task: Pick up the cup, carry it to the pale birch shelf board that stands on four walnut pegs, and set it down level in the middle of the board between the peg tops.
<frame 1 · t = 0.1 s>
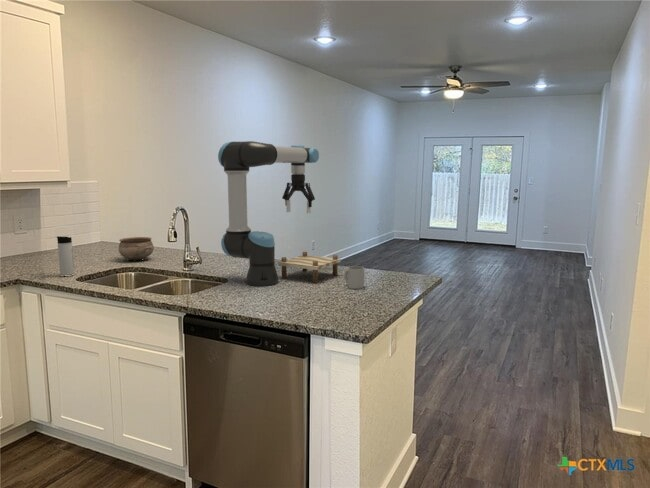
hand: (298, 212, 276), 28 cm above the worktop, fingers open, 13 cm apart
cup: (353, 287, 224), on the worktop
travel mug: (67, 276, 248), on the worktop
cooking pot: (137, 260, 288), on the worktop
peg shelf: (309, 276, 245), on the worktop
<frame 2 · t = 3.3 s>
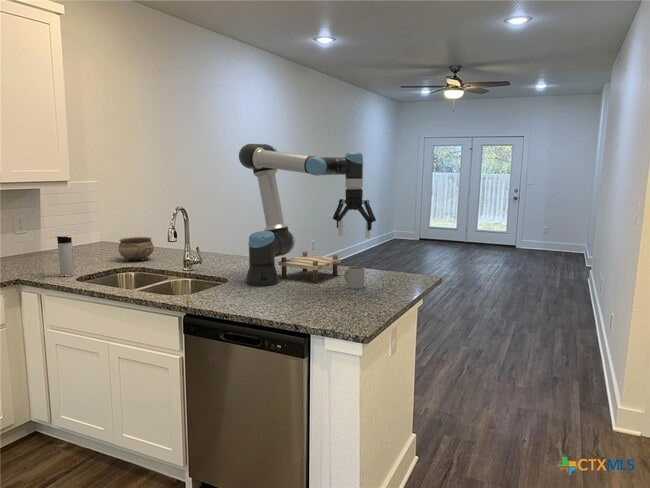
hand: (353, 236, 221), 23 cm above the worktop, fingers open, 13 cm apart
nothing on the worktop moved.
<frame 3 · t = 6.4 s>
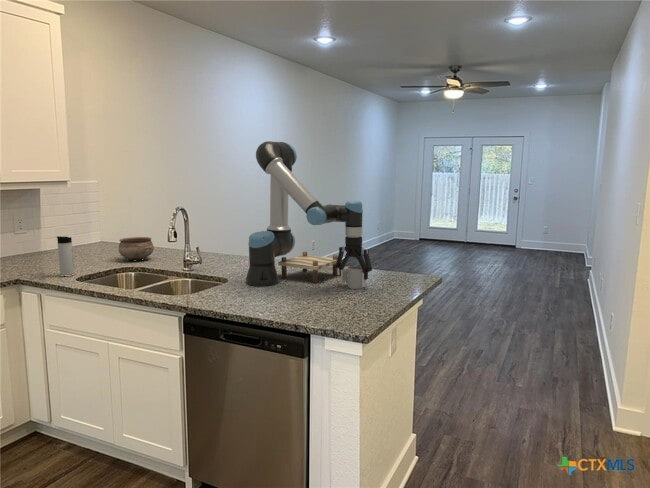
hand: (353, 285, 224), 1 cm above the worktop, fingers closed on cup, 10 cm apart
cup: (353, 287, 224), on the worktop, touching gripper
everything else where it was.
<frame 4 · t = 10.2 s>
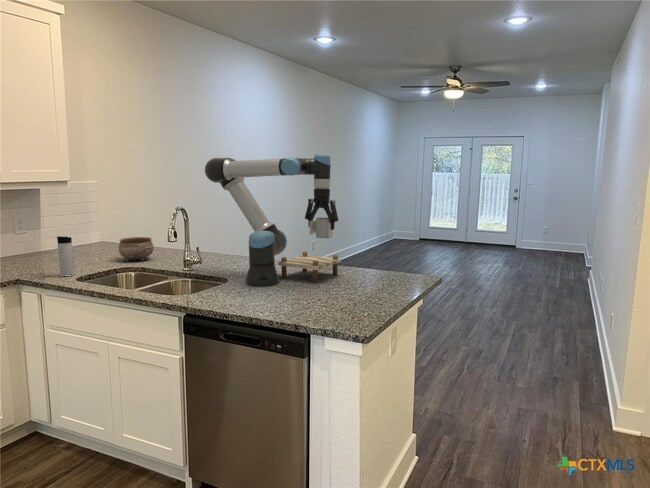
hand: (321, 235, 235), 21 cm above the worktop, fingers closed on cup, 10 cm apart
cup: (321, 237, 236), point 20 cm above the worktop, touching gripper
everything else where it was.
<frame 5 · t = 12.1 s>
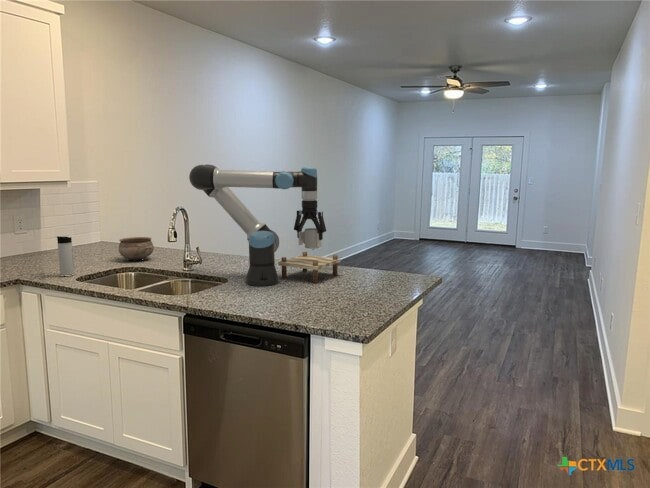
hand: (309, 245, 242), 15 cm above the worktop, fingers closed on cup, 10 cm apart
cup: (310, 247, 243), point 14 cm above the worktop, touching gripper
everything else where it was.
when the fingers open (10 cm above the worktop, at t = 14.0 s): cup drops 1 cm, resting on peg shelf.
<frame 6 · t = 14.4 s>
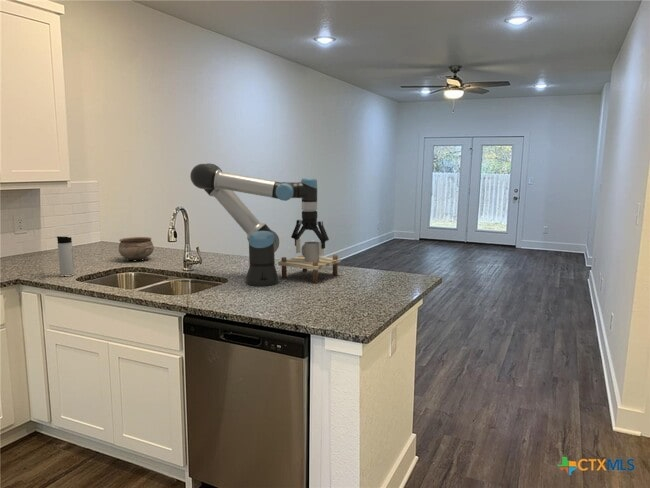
hand: (309, 254, 243), 11 cm above the worktop, fingers open, 13 cm apart
cup: (309, 260, 244), point 8 cm above the worktop, touching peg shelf
everything else where it was.
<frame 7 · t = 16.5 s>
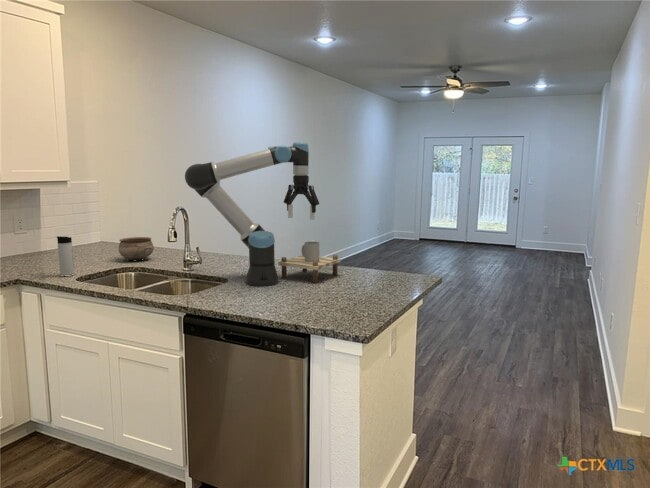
hand: (301, 218, 245), 28 cm above the worktop, fingers open, 13 cm apart
nothing on the worktop moved.
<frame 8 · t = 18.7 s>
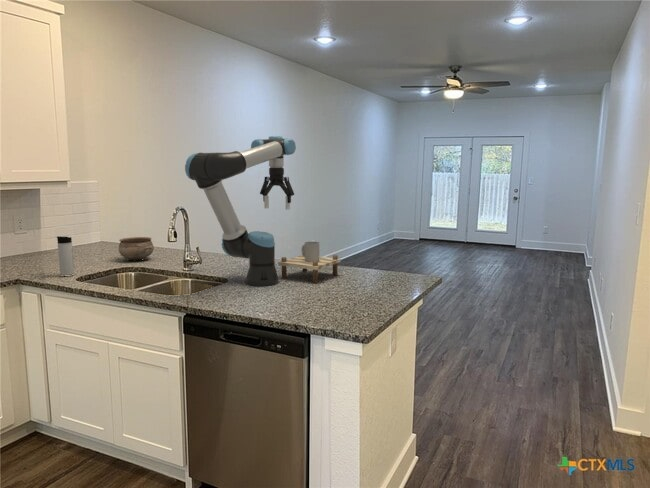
hand: (277, 208, 257), 32 cm above the worktop, fingers open, 13 cm apart
nothing on the worktop moved.
at the end: cup inside the target area on the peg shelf (0.0 cm from its centre), point 7.8 cm above the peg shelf's base; cup tilted 0°; the gripper is holding nothing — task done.
